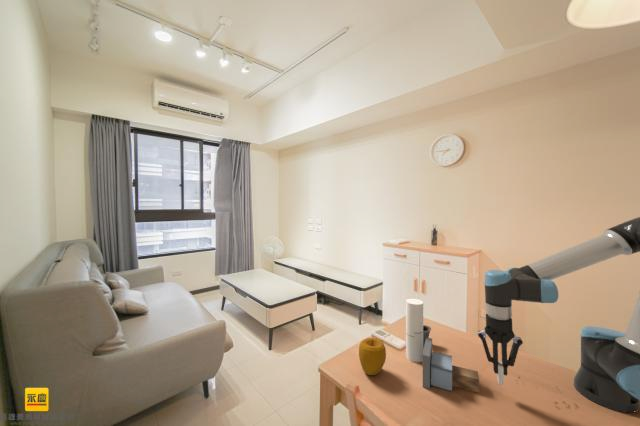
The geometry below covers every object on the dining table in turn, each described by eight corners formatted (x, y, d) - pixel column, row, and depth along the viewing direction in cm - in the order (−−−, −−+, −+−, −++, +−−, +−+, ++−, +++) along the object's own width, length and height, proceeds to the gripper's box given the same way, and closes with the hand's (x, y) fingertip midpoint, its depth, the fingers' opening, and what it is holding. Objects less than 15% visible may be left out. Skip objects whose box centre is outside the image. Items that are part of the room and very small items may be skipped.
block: (452, 374, 99) (452, 355, 99) (452, 391, 90) (452, 370, 90) (432, 369, 102) (432, 351, 102) (430, 384, 93) (430, 365, 93)
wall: (432, 367, 104) (432, 338, 104) (429, 388, 92) (429, 356, 92) (425, 365, 105) (425, 337, 105) (422, 386, 93) (422, 354, 93)
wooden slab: (477, 384, 94) (477, 371, 94) (479, 393, 90) (479, 379, 90) (436, 373, 101) (436, 361, 100) (436, 381, 96) (436, 368, 96)
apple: (384, 383, 95) (384, 350, 95) (356, 377, 98) (356, 345, 98) (387, 366, 105) (386, 335, 105) (361, 361, 109) (361, 332, 108)
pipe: (404, 343, 122) (404, 327, 122) (425, 339, 126) (425, 323, 126) (412, 350, 117) (412, 333, 116) (434, 345, 120) (434, 329, 120)
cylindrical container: (424, 363, 107) (424, 305, 107) (407, 361, 108) (407, 303, 108) (421, 353, 114) (421, 299, 114) (405, 351, 115) (404, 298, 115)
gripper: (519, 314, 88) (521, 381, 88) (475, 308, 94) (477, 371, 94) (524, 323, 81) (527, 395, 81) (477, 316, 87) (479, 384, 87)
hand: (500, 382), depth 88 cm, fingers closed
